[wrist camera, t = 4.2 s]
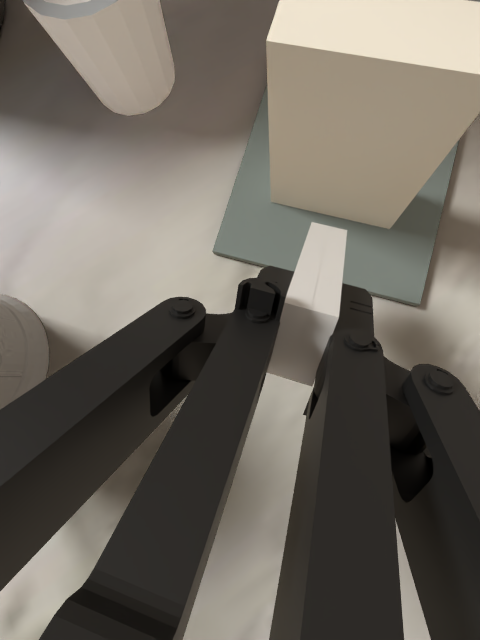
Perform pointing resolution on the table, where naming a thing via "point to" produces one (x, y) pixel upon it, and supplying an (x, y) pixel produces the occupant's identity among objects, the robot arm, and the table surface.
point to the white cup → (113, 48)
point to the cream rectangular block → (367, 100)
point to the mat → (362, 239)
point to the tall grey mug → (20, 350)
